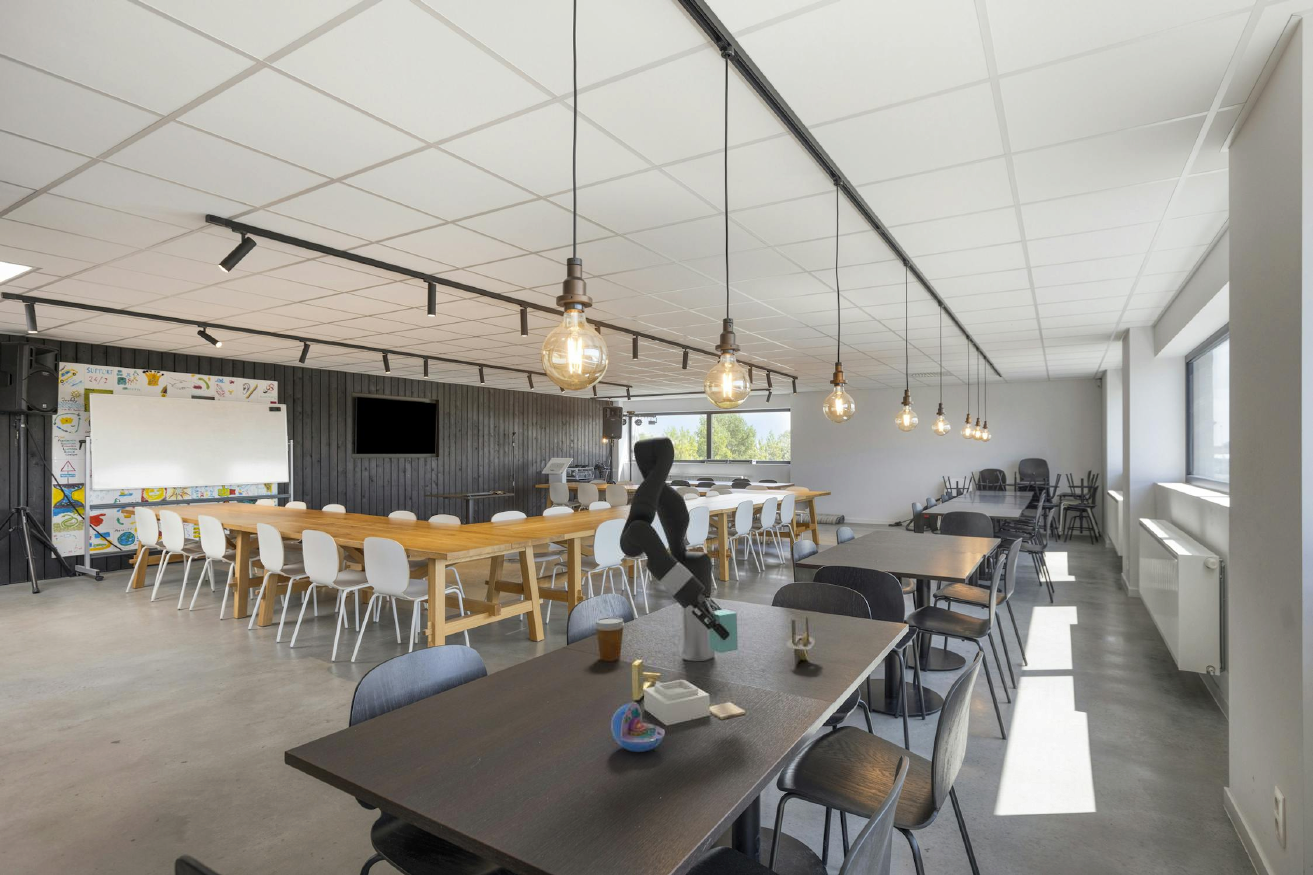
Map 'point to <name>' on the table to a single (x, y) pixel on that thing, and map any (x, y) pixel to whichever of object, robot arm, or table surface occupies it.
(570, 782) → the table surface
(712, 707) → the pad
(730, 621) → the teal upright prism
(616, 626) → the disposable coffee cup
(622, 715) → the cell model
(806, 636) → the two-pronged ringed stand
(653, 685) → the key socket
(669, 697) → the housing
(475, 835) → the table surface
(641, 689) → the key lever
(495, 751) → the table surface
